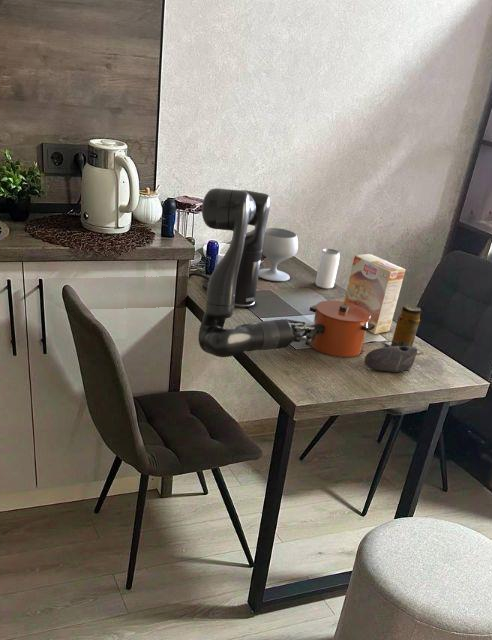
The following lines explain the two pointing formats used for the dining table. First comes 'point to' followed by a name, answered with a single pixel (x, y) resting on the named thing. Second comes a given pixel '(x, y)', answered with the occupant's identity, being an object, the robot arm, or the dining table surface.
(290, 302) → the dining table surface
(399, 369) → the perforated stone tool
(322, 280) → the can
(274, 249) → the chalice
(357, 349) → the pot
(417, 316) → the condiment
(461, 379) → the dining table surface
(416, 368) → the dining table surface
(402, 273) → the coffeecake box
